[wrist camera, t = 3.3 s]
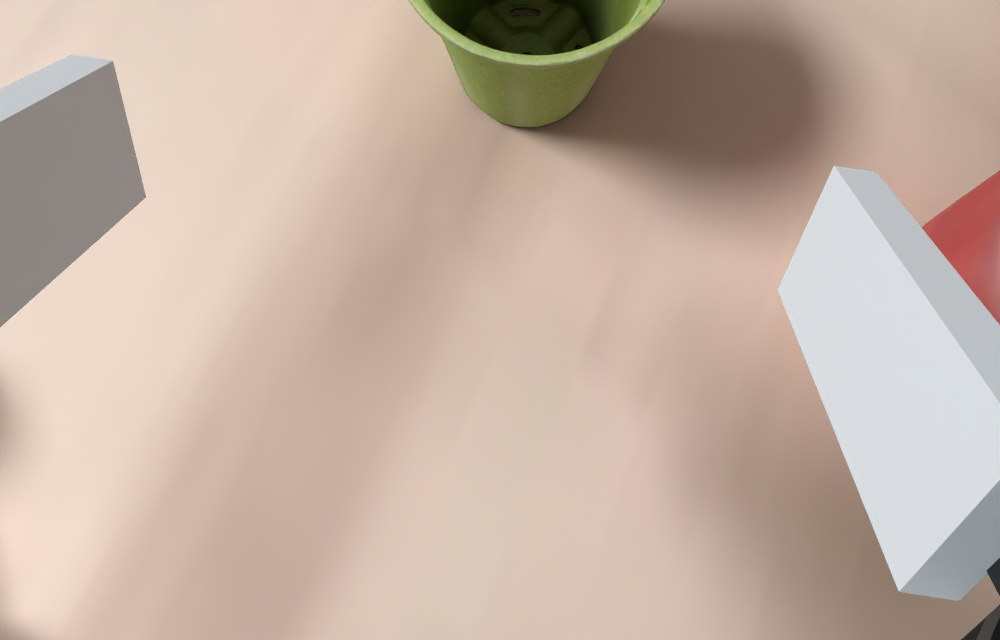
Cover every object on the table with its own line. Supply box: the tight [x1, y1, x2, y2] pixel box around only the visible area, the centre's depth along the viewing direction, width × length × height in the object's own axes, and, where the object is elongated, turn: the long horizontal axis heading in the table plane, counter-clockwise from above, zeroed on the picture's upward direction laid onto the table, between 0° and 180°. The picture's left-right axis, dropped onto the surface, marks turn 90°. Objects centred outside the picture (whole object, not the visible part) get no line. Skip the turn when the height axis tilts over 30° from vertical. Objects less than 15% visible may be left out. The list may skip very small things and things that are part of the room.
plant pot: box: [409, 0, 665, 127], centre depth 25 cm, size 9×9×9 cm
